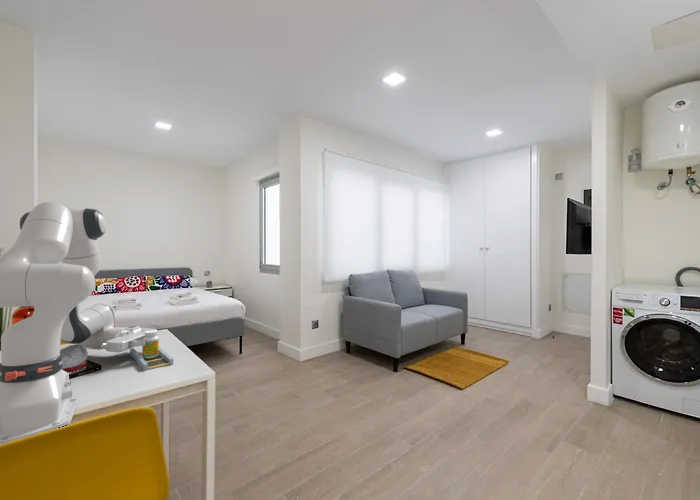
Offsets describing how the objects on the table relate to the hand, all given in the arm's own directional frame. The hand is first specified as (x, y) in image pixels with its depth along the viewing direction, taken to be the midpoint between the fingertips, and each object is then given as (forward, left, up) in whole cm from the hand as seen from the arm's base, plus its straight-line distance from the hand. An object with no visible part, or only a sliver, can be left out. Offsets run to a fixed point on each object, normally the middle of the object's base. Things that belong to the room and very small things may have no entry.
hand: (152, 340), depth 127 cm
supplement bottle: (0, 0, -6) cm, 6 cm away
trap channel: (0, 0, -7) cm, 7 cm away
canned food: (+4, +24, -7) cm, 26 cm away
